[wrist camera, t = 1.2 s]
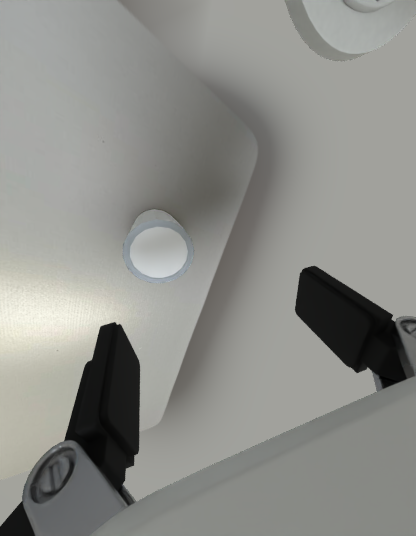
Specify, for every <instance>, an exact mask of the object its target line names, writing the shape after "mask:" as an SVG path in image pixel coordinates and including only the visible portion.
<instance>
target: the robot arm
mask: <svg viewBox="0 0 416 536" xmlns="http://www.w3.org/2000/svg"><path fill="white" fill-rule="evenodd" d="M343 1H344V2H345V3H346V4H347V5H348V6H350V7H351V8H353V9H354V10H356V11H360V12H364V13H365V12H374V11H377V10H379V9H381V8H383V7H386V6H387V5H389V4H390V3H392V2H393V1H395V0H343ZM295 311H296V314H297V315H298V316H299V317H300V318H301V320H303V322H304V323H305V324H307V326H308V327H309V328H310V329H311V330H312V331H313V332H314V333H315V334H316V335H317V336H318V337H319V338H320V339H321V340H322V341H323V342H324V343H325V344H326V345H327V346H328V347H329V348H330V349H331V350H332V351H333V352H334V353H335V354H336V355H337V356H338V357H339V358H340V359H341V360H342V362H343V363H344V364H345V365H347V366H348V367H351V368H352V369H353V370H354V371H355V372H356V373H359V372H361V371H363V370H366V369H367V367H368V368H369V369H370V370H372V373H373V377H374V381H375V385H376V390H377V392H375V393H373V394H371V395H369V396H366V397H364V398H362V399H359V400H357V401H355V402H353V403H350V404H348V405H346V406H343V407H341V408H339V409H336V410H334V411H332V412H330V413H327V414H325V415H323V416H321V417H318V418H316V419H314V420H312V421H310V422H307V423H305V424H303V425H300V426H298V427H296V428H294V429H291V430H289V431H287V432H284V433H282V434H280V435H278V436H275V437H273V438H271V439H269V440H266V441H264V442H262V443H260V444H258V445H255V446H253V447H251V448H249V449H246V450H244V451H242V452H240V453H238V454H235V455H233V456H231V457H229V458H227V459H224V460H222V461H220V462H217V463H216V464H214V465H211V466H209V467H206V468H204V469H202V470H200V471H198V472H196V473H193V474H191V475H189V476H187V477H185V478H183V479H181V480H179V481H177V482H174V483H173V484H170V485H168V486H166V487H164V488H162V489H160V490H158V491H156V492H154V493H152V494H150V495H148V496H146V497H145V498H143V499H141V500H139V501H137V502H136V500H135V499H134V498H133V497H132V495H131V494H130V493H129V491H128V490H127V489H126V488H125V486H124V485H123V482H124V481H125V471H126V468H129V467H131V466H134V455H136V454H138V451H139V407H140V364H139V360H138V358H137V356H136V354H135V352H134V350H133V348H132V346H131V344H130V342H129V340H128V338H127V336H126V334H125V332H124V330H123V328H122V326H121V324H119V325H117V324H116V323H115V322H114V323H110V324H107V325H103V326H101V327H100V330H99V334H98V338H97V342H96V346H95V350H94V355H93V359H92V360H91V361H89V362H87V363H86V365H85V367H84V371H83V374H82V378H81V382H80V385H79V389H78V393H77V396H76V400H75V404H74V407H73V411H72V415H71V418H70V422H69V426H68V429H67V433H66V436H65V440H64V442H60V443H59V444H57V445H55V446H53V447H52V448H51V449H50V450H48V451H47V452H46V453H45V454H44V455H43V456H42V457H41V458H40V460H39V461H38V462H37V463H36V464H35V466H34V468H33V469H32V471H31V472H30V474H29V476H28V478H27V481H26V483H25V486H24V490H23V496H22V502H21V503H20V504H19V505H18V506H17V508H16V509H15V510H14V511H13V512H12V514H11V515H10V516H9V517H8V518H7V519H6V521H5V522H4V523H3V524H2V525H1V526H0V536H416V317H411V316H403V317H399V318H397V319H396V321H395V322H394V321H393V320H391V319H392V316H393V315H392V314H390V313H389V312H387V311H386V310H384V309H382V308H381V307H379V306H378V305H376V304H375V303H373V302H372V301H370V300H368V299H367V298H365V297H363V296H362V295H360V294H359V293H357V292H356V291H354V290H353V289H351V288H349V287H348V286H346V285H345V284H343V283H342V282H340V281H338V280H336V279H335V278H333V277H332V276H330V275H328V274H327V273H326V272H324V271H323V270H321V269H319V268H318V267H316V266H311V267H308V268H305V269H303V270H302V272H301V273H300V278H299V285H298V292H297V299H296V306H295Z"/></svg>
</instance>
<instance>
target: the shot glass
mask: <svg viewBox="0 0 416 536" xmlns="http://www.w3.org/2000/svg"><path fill="white" fill-rule="evenodd" d="M193 254H194V248H193V243H192V239H191V238H190V236H189V235H188V234H187V232H186V231H185V230H184V228H183V227H182V226H181V225H180V224H179V223H178V222H177V221H176V220H175V219H174V218H173V217H172V216H171V215H170V214H168V213H166V212H165V211H163V210H156V209H152V210H148V211H144V212H143V213H142V214H140V215H139V216H138V217H137V218H136V220H135V222H134V224H133V226H132V228H131V230H130V232H129V234H128V236H127V238H126V240H125V242H124V244H123V259H124V261H125V263H126V266H127V268H128V270H129V271H131V272H132V273H133V274H134V275H135V276H136V277H137V278H139V279H142V280H144V281H147V282H150V283H165V282H169V281H172V280H175V279H177V278H178V277H179V276H181V275H182V274H184V273H185V272H186V270H187V269H188V267H189V266H190V264H191V263H192V259H193Z"/></svg>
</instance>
